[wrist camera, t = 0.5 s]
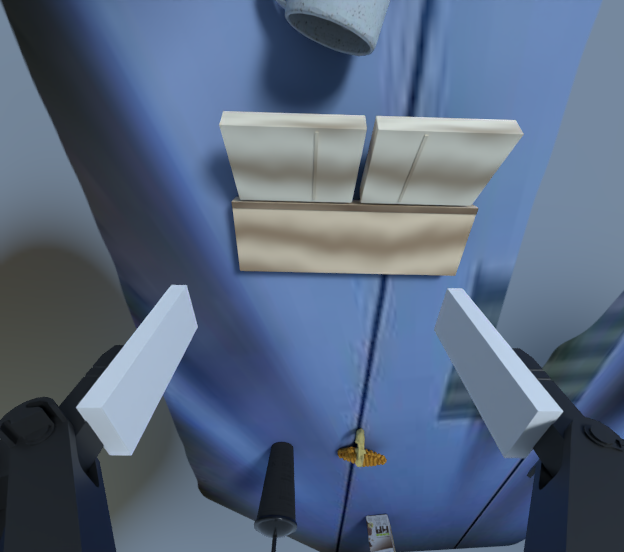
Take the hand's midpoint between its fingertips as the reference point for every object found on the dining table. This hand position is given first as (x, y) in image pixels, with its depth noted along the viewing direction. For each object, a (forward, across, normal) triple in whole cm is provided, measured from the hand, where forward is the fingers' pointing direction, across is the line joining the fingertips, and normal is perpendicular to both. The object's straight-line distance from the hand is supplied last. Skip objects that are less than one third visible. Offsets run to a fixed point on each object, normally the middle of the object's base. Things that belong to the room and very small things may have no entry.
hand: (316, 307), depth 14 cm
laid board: (+22, +5, -5) cm, 23 cm away
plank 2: (+19, +12, +4) cm, 23 cm away
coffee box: (+21, +21, -95) cm, 99 cm away
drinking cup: (+21, -6, -55) cm, 60 cm away
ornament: (+22, +11, -54) cm, 59 cm away
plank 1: (+19, -2, +5) cm, 20 cm away
